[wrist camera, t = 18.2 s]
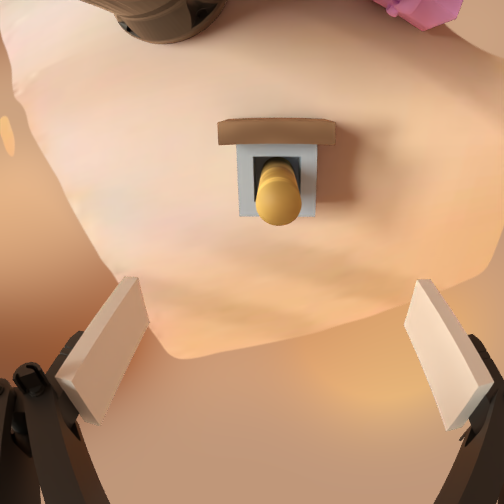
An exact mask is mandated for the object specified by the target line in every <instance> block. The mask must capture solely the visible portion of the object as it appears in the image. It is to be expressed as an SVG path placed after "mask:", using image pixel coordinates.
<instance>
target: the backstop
mask: <svg viewBox="0 0 504 504" xmlns="http://www.w3.org/2000/svg"><path fill="white" fill-rule="evenodd" d="M217 124H218V144H219V145H233V144H319V145H335V130H336V123H335V122H332V121H329V120H326V119H311V118H243V119H227V120H224V121H221V122H218V123H217Z"/></svg>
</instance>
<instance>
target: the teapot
mask: <svg viewBox="0 0 504 504" xmlns="http://www.w3.org/2000/svg"><path fill="white" fill-rule="evenodd" d="M372 1H374V2H376V3H378V4H379V5H381V6H383V7H385V8H386V12H387V13H388V14H389V15H390V16H392V17H397V15H398V16H400V17H401V18H403V19H404V20H406V21H407V22H409V23H411V24H412V25H414V26H415V27H417V28H418V29H419V30H421V31H425V30H428V29H430V28H433V27H435V26H438V25H441V24H443V23H446V22H449V21H452V20H454V19H456V18H457V15H458V13H459V10H460V7H461V5H462V2H463V0H372Z"/></svg>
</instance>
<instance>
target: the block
mask: <svg viewBox="0 0 504 504" xmlns="http://www.w3.org/2000/svg"><path fill="white" fill-rule="evenodd" d="M236 148H237V171H238V194H239V216H259V214H258V212H257V210H256V198H257V192H258V187H259V182H260V177H261V172H262V167H263V165H264V163H265V162H266V161H267V160H268V159H270V158H273V157H282V158H285V159H286V160H288V161H289V162H290V163H291V165H292V167H293V170H294V174H295V178H296V182H297V185H298V189H299V193H300V197H301V201H302V206H301V211H300V213H299V215H298V216H297V217H315V207H316V181H317V144H236Z"/></svg>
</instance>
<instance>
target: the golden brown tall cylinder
mask: <svg viewBox="0 0 504 504" xmlns="http://www.w3.org/2000/svg"><path fill="white" fill-rule="evenodd" d="M301 206H302V201H301V197H300V193H299V189H298V185H297V182H296V178H295V174H294V170H293V167H292V165H291V163H290V162H289V161H288V160H286V159H285V158H282V157H273V158H270V159H268V160H267V161H266V162H265V163H264V165H263V167H262V172H261V177H260V182H259V187H258V192H257V198H256V210H257V212H258V214H259V216H260V217H261V218H262V219H263V220H264V221H265V222H267V223H269V224H271V225H276V226H282V225H286V224H289V223H291V222H292V221H294V220H295V219H296V218H297V216H298V215H299V213H300V211H301Z"/></svg>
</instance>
